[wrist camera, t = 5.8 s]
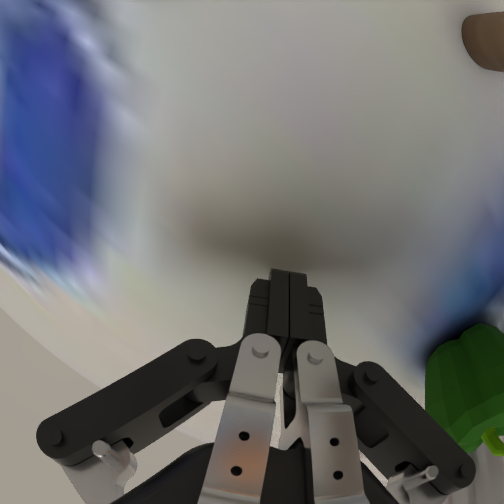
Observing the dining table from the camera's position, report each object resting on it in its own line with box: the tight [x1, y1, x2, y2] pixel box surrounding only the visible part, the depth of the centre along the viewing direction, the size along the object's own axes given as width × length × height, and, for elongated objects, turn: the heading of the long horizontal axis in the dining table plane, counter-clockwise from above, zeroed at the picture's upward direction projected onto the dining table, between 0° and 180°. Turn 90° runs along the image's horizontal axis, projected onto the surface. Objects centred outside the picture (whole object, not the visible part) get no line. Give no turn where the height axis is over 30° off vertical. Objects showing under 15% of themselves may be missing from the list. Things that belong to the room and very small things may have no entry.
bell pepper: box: [425, 323, 504, 456], centre depth 13 cm, size 8×8×10 cm
